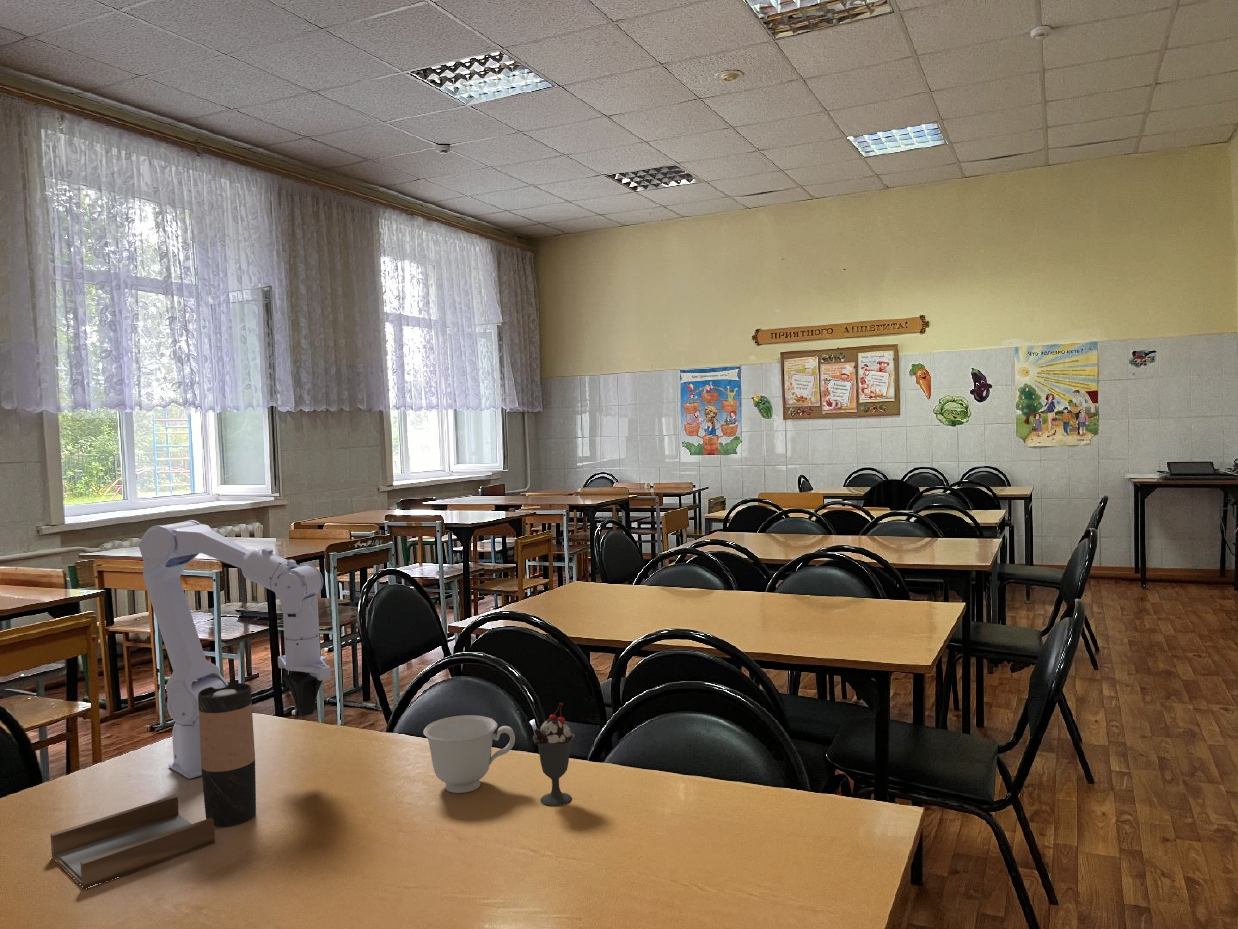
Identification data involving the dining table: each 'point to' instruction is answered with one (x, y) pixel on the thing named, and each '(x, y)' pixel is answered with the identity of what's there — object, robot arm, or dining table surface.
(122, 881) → the dining table surface
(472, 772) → the teacup
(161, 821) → the u rest
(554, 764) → the sundae
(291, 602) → the robot arm
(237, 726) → the travel mug
